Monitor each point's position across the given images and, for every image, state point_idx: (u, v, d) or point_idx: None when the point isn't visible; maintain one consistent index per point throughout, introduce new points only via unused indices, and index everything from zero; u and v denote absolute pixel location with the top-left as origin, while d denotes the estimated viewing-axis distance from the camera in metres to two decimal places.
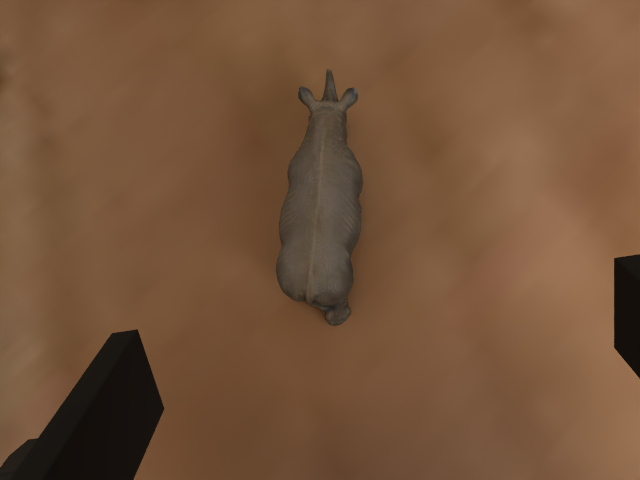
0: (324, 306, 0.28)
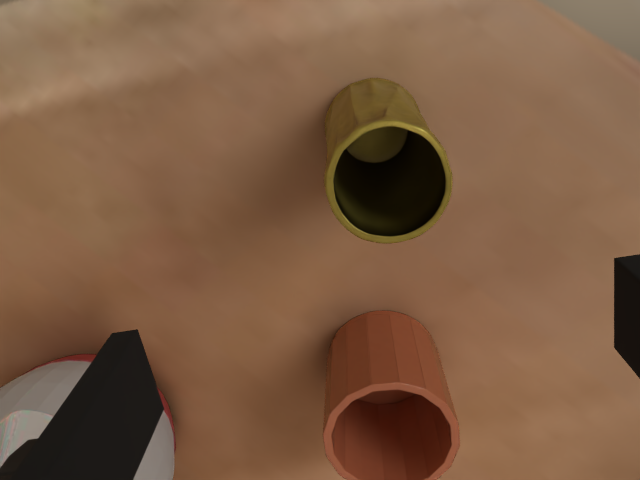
0: None
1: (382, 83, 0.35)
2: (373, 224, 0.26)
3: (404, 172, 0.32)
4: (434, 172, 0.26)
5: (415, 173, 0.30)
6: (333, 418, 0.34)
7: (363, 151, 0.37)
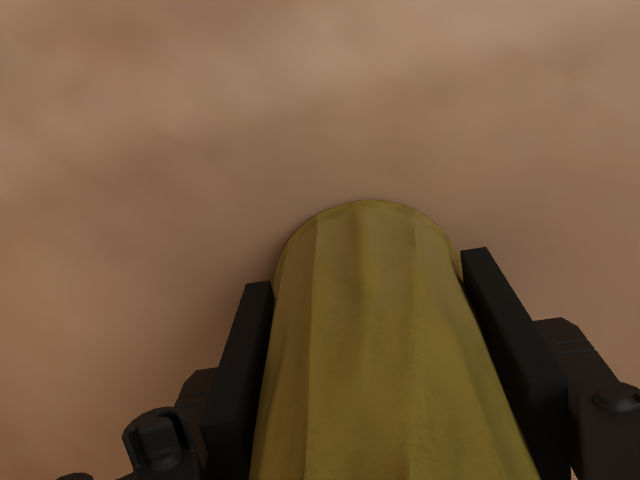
0: None
1: (382, 215, 0.17)
2: None
3: None
4: None
5: None
6: None
7: None
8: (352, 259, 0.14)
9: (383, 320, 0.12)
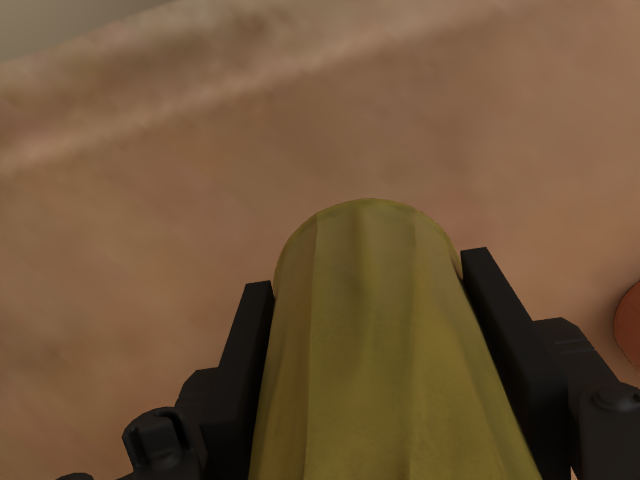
0: None
1: (382, 213, 0.17)
2: None
3: None
4: None
5: None
6: None
7: None
8: (352, 257, 0.14)
9: (383, 318, 0.12)
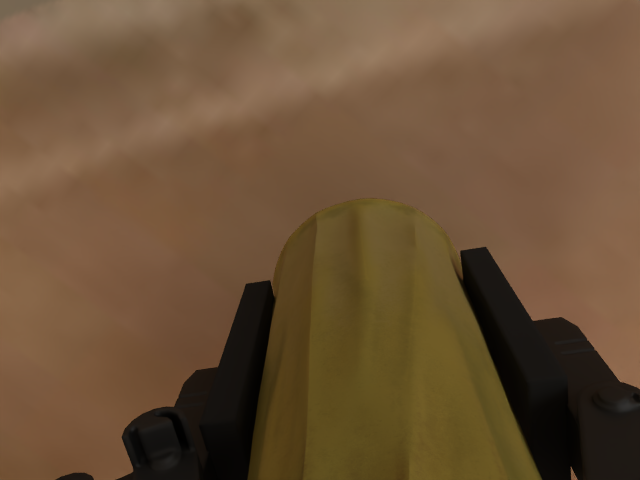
0: None
1: (382, 213, 0.17)
2: None
3: None
4: None
5: None
6: None
7: None
8: (352, 257, 0.14)
9: (383, 318, 0.12)
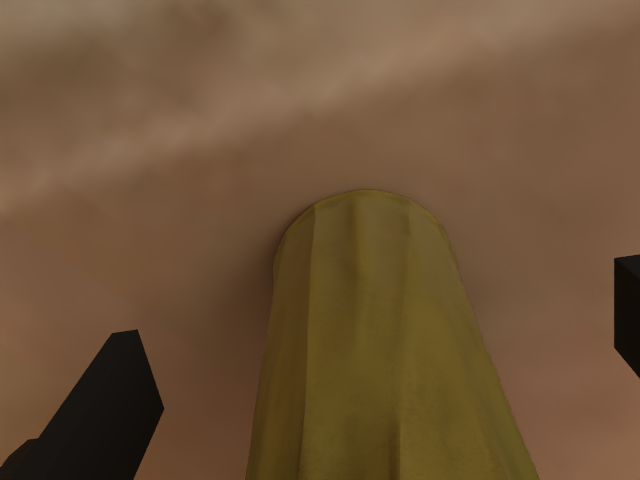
0: None
1: (378, 204, 0.18)
2: None
3: None
4: None
5: None
6: None
7: None
8: (348, 244, 0.15)
9: (377, 299, 0.12)
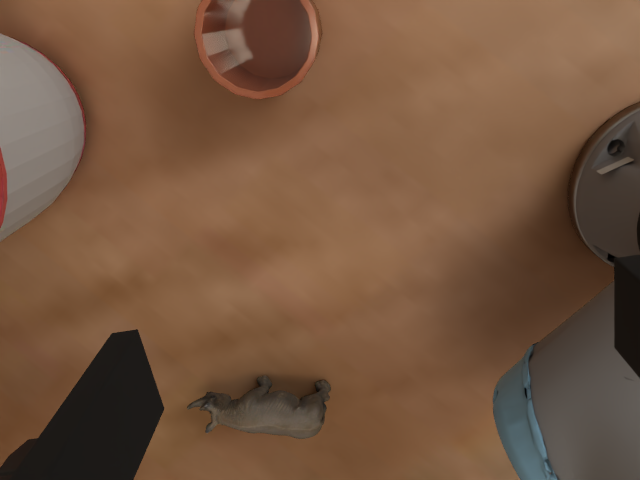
0: (324, 410, 0.55)
1: None
2: None
3: None
4: None
5: None
6: (201, 14, 0.37)
7: None
8: None
9: None
